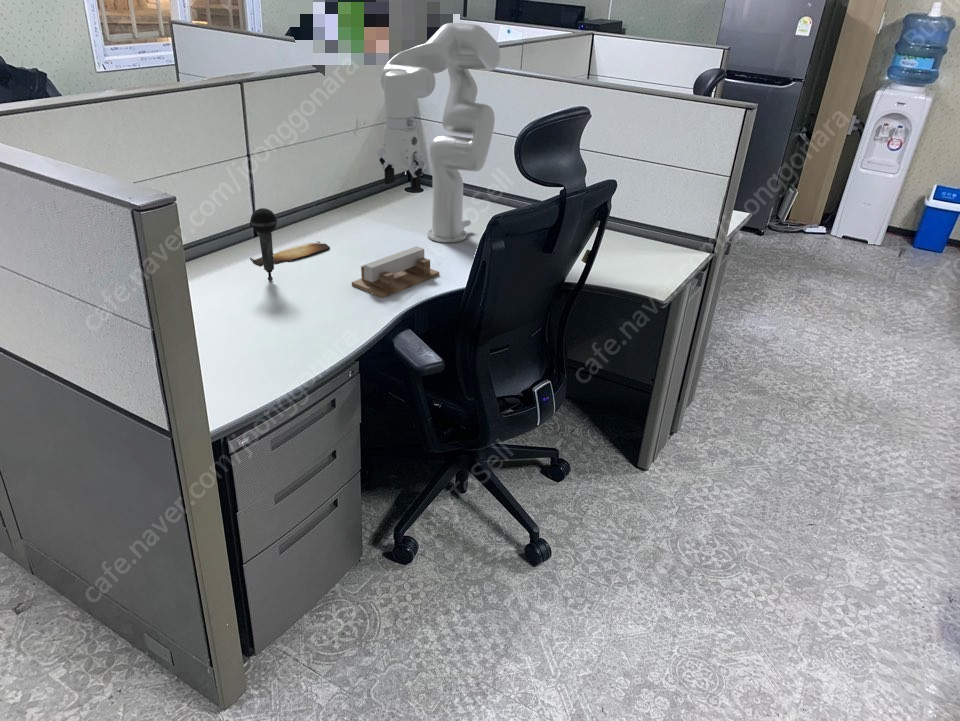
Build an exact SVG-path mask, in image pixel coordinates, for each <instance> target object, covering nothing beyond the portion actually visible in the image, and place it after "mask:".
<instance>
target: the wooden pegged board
mask: <svg viewBox="0 0 960 721" xmlns="http://www.w3.org/2000/svg"><path fill="white" fill-rule="evenodd" d="M360 271H361V272H360V273H361V278H359V279H357V280H354V281H351V286H352V287H355V288H357V289H359V288H360V289H359V290H362V291H364V292H366V293H369V292H370V294H371V293H373V294H372V295H374V294H375V296H376V295H377V297H378V298H381V297H382V299H384V297H385V298H387V297H389V295H390V296H392V295H394V294H397V293H400V292H401V291H404V290H406V289H409V288H411V287H414V286H416V285H419V284H421V283H424V282H425V281H429V280H431V279H433V278H435V277H438V276H440V271H439V270H436V269H432V268H431V259H428V258H426V257H424V258H421V259H418V260H417V265H416V266H413V267H411V268H408V269H406V270H403V271H400V272H398V273H395V274H393V273H391V272H388V271H386V272H383V273H381V274H380V279H379V280H377V281H374V282H371V281H368V280H366V279H364V265H361V266H360ZM391 294H392V295H391Z"/></svg>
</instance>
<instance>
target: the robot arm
mask: <svg viewBox="0 0 960 721" xmlns="http://www.w3.org/2000/svg"><path fill="white" fill-rule="evenodd" d="M500 59H501V49H500V45H499V43H498V42H497V40H496V39H495V38H494V37H493V36H492V34H490V33H489V32H488V31H487V30H486V28H484V27H483V26H481V25H479V24H474V23H473V24H472V23H460V22H448V23H445V24H443V25H441V26H440V27H439V29H437V30H436V32H435V33H434V34H433V35H431V37H430V38H429V39H428V40H427V41H426V42H425V43H423V44H419V45H416V46H413V47H411V48H409V49H406V50H402V51H400V52H398V53H397V54H395V55H393V57H391V59H389V61H388V62H386V64H385V65H384V67H383V69H382V71H381V74H380V86H381V88H382V90H383V92H384V112H385V113H384V117H385V126H384V131H383V144H382V146H383V147H382V148H380V149H377V151H376V153H377V156H378V158H379V162H380V164H381V165H382V166H381V167H382V170H383V171H384V184H385V185H390V184H393V183H395V168H394V167H397V168H402V169H406V170H408V171H409V173H410V175H411V177H410V191H411V192H412V193H415V192H418V191H420V190H421V188H422V186H421V182H422V181H421V180H422V179H421V176H423V174H424V173H425V172H426V168H427V166H428V162H427V160H426V159H424V158H423V156H422V148H421V140H420V135H419V130H418V128H416V126H417V121H416V120H415V116H416V115H415V99H424V98H428V97H429V96H431V94H432V93H433V92H434V90H435V87H436V77H435V74H439V73H441V72H444V71H446V70H447V72H448V76H449V89H448V93H447V98H446V103H445V106H444V110H443V114H442V128H443V129H444V130H445V131H446V132H448V133H451V134H456V135H450V134H449V135H448V134H441V135H438V136H435V137H433V138H432V140H431V142H430V145H429V149H428V150H429V157H430V158H429V159H430V165H431V170H432V171H431V174H432V175H431V176H432V208H431V209H432V212H431V213H432V217H431V218H432V221H431V222H432V224H431V225H432V226H431V229H428V231H427V238H429V239H430V240H432V241H434V242H438V243H449V244H450V243H459V242H462V241H464V240H465V239H467V236H468V234H467V231H465V228H466V227H469V226H470V225H471V224H472V222H471V220H470V219H466V220H463V209H464V207H463V204H464V202H463V201H464V180H463V177H462V174H461V173H460V172H459V171H467V172H475V173H476V172H480V171H481V170H482V169H483V168H484V166H485V164H486V162H487V157H488V153H489V149H490V146H491V141H492V137H493V133H494V129H495V120H496V118H495V112H494V109H493V108H492V107H491V106H490V105H488V104H486V103H485V104H484V103H478V102H476V101H477V100H476V99H477V96H478V85H477V83H476V80H475V78H474V77H473V76H472V74H471V72H470V71H469V70H473V71H474V70H475V71H482V72H483V71H485V72H487V71H488V72H491V71H493V70H495V69H496V68H497V67H498V66H499V63H500ZM457 135H464V136H471V137H464V136H463V137H462V136H457Z"/></svg>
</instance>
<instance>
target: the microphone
mask: <svg viewBox="0 0 960 721" xmlns="http://www.w3.org/2000/svg"><path fill="white" fill-rule="evenodd" d="M249 223H250V225H251V227H252V229H253V230H254V231H255V232H257V233H258V237H259V244H260V251H261V256H262V258H263V270H264V271H265V272H267V274H268V277H267V280H268V281H269V282H272V281H273V279H274V278H273V276H272V272H273V270H275V265H274V260H273V256H274V255H273V254H274V248H273V235H272V232H273V231H274V230H275V229H276V227H277V224H278V219H277V216H276V215H275V213H274V212H273V211H272V210H271V209H268V208H258V209H256V210H255V211H253V213H252V214H251V216H250V220H249Z"/></svg>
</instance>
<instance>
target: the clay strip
mask: <svg viewBox="0 0 960 721" xmlns="http://www.w3.org/2000/svg"><path fill="white" fill-rule="evenodd" d="M421 258H425V248H423V247H420V246H417V245H416V246H414V247H411V248H408V249H405V250H402V251H399V252H396V253H393V254H391V255H388V256H385V257H383V258H380V259H377V260H374V261H371V262H368V263H365V264H363V266H364V279H366V280H368V281H371V282H374V281H377V280H379V279H380V274H381V273H383V272H386V271H388V272H391V273H393V274H395V273H398V272H400V271H403V270H406V269H408V268H411V267H413V266H416V265H417V260H418V259H421Z"/></svg>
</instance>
